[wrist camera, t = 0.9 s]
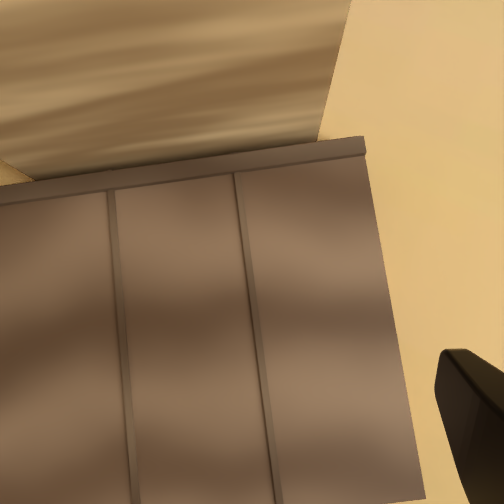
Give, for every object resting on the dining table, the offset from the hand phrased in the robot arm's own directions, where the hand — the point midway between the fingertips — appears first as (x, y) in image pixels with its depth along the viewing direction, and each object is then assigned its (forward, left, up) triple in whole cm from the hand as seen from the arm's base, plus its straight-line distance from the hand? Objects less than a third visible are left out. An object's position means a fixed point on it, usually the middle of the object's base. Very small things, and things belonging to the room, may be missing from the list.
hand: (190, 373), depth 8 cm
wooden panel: (0, +2, -14) cm, 14 cm away
